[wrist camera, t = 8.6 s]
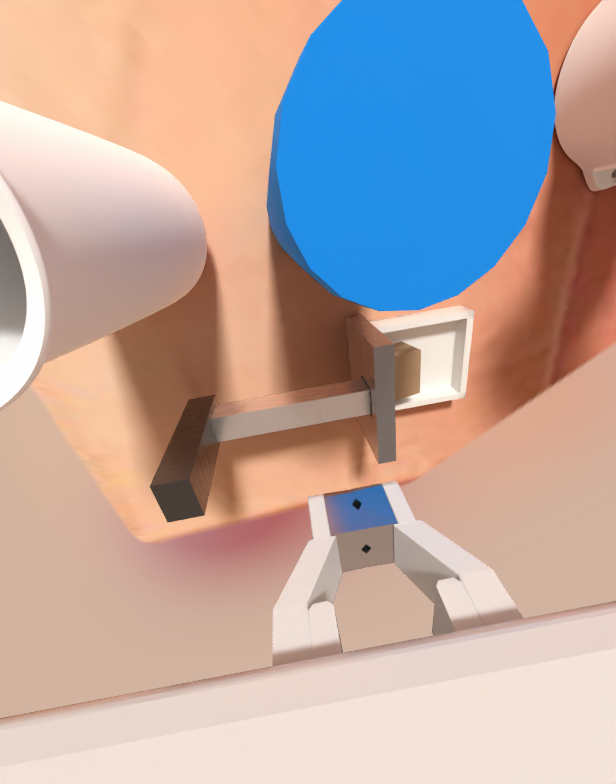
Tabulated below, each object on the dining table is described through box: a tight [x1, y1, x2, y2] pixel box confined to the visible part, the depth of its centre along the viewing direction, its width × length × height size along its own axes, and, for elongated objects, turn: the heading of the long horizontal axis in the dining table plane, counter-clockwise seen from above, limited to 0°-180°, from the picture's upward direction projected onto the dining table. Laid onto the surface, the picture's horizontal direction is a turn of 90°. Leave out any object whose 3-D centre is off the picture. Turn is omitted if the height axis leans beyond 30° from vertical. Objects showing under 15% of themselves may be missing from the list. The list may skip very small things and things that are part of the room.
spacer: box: [394, 341, 421, 401], centre depth 40 cm, size 5×6×4 cm
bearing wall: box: [345, 315, 396, 464], centre depth 38 cm, size 2×14×12 cm, turn 8°
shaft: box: [150, 379, 371, 522], centre depth 32 cm, size 20×4×14 cm, turn 98°
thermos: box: [267, 0, 556, 311], centre depth 23 cm, size 11×11×25 cm
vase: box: [0, 101, 207, 410], centre depth 21 cm, size 13×13×28 cm
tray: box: [369, 305, 474, 410], centre depth 42 cm, size 13×12×3 cm
